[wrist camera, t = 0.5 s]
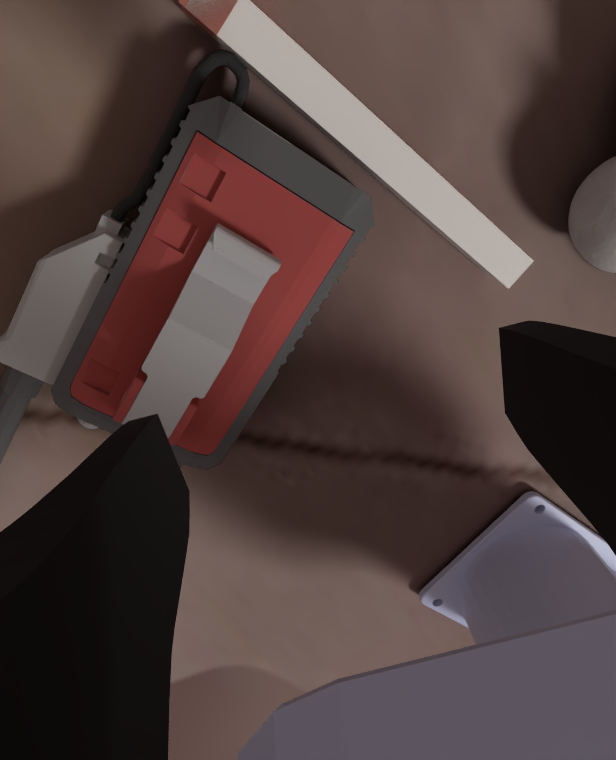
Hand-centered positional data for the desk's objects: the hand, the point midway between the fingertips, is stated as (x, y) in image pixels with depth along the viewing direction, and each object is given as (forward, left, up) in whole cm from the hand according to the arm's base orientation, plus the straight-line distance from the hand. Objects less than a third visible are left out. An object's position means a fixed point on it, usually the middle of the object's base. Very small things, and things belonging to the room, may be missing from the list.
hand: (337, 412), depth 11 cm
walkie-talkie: (+3, +5, -10) cm, 12 cm away
